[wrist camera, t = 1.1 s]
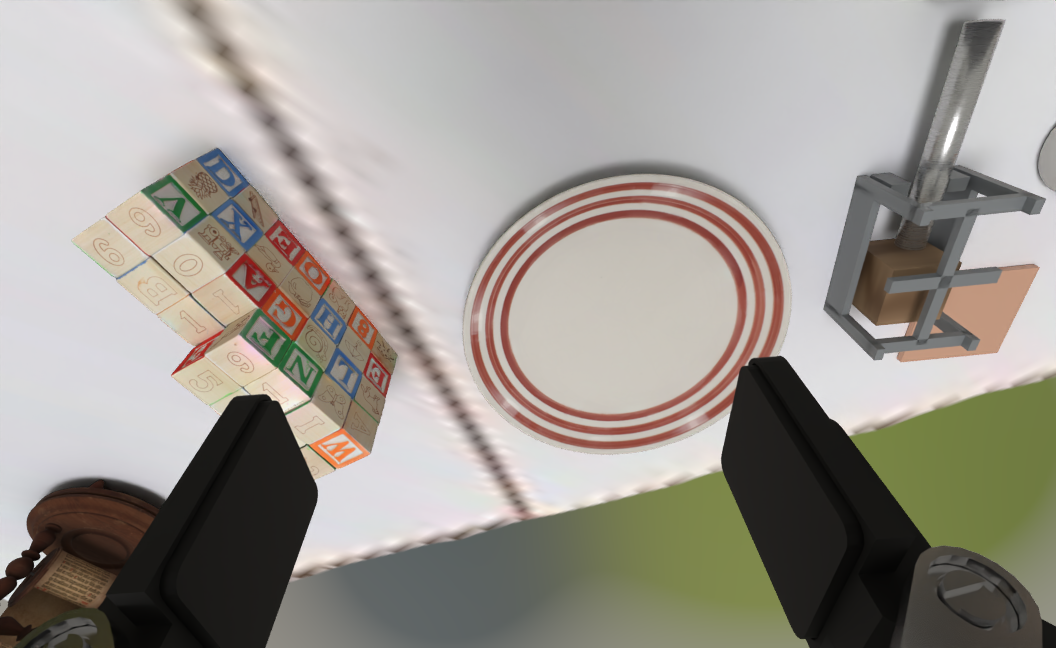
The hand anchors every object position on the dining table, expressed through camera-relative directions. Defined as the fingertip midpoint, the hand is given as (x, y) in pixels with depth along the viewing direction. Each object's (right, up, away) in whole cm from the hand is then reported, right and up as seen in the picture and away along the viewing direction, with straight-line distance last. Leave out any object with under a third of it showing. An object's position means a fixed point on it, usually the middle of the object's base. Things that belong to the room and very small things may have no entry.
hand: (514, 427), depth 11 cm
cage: (+30, +9, +32) cm, 45 cm away
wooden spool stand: (-45, -20, +47) cm, 68 cm away
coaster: (+40, +3, +36) cm, 54 cm away
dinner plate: (+8, +3, +35) cm, 37 cm away
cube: (+30, +7, +33) cm, 45 cm away
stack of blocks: (-19, +6, +32) cm, 38 cm away
